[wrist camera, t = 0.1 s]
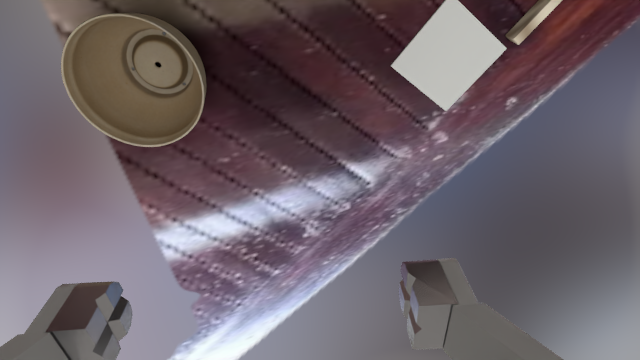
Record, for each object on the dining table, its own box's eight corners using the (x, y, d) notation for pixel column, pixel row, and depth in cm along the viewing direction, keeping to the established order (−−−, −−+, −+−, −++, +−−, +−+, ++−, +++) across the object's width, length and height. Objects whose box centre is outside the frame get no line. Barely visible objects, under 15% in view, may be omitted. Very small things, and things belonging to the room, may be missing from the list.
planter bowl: (179, 134, 60) (157, 169, 51) (81, 63, 54) (36, 88, 45) (242, 61, 55) (230, 85, 45) (141, -29, 48) (104, -21, 39)
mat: (445, 110, 60) (445, 111, 60) (390, 65, 56) (390, 66, 56) (505, 48, 55) (506, 48, 55) (450, -7, 51) (451, -7, 51)
